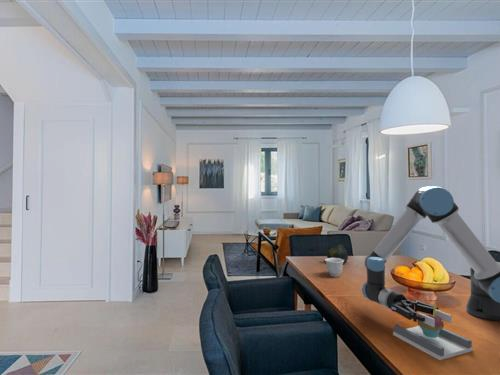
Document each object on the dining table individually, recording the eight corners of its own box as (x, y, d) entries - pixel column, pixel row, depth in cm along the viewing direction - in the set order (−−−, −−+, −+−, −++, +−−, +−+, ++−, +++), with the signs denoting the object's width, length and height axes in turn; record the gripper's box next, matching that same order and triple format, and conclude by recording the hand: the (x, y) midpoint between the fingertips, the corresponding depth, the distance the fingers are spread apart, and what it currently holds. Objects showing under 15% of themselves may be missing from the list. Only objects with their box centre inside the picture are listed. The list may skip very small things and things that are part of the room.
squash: (321, 254, 248) (329, 241, 239) (336, 253, 254) (345, 240, 245) (329, 270, 238) (339, 257, 229) (345, 268, 245) (355, 256, 236)
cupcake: (434, 329, 125) (435, 298, 125) (449, 340, 116) (449, 306, 116) (412, 330, 125) (412, 298, 125) (425, 340, 116) (425, 307, 116)
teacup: (341, 271, 219) (341, 256, 219) (346, 278, 204) (345, 262, 204) (323, 271, 220) (323, 256, 220) (326, 277, 205) (326, 261, 205)
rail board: (393, 334, 127) (392, 325, 127) (423, 327, 133) (423, 318, 133) (439, 360, 108) (439, 349, 108) (472, 350, 114) (472, 340, 114)
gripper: (411, 305, 141) (462, 326, 120) (373, 312, 133) (421, 336, 112) (411, 288, 141) (462, 306, 120) (373, 294, 133) (421, 315, 112)
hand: (442, 321), depth 116 cm, fingers closed on cupcake, 8 cm apart
